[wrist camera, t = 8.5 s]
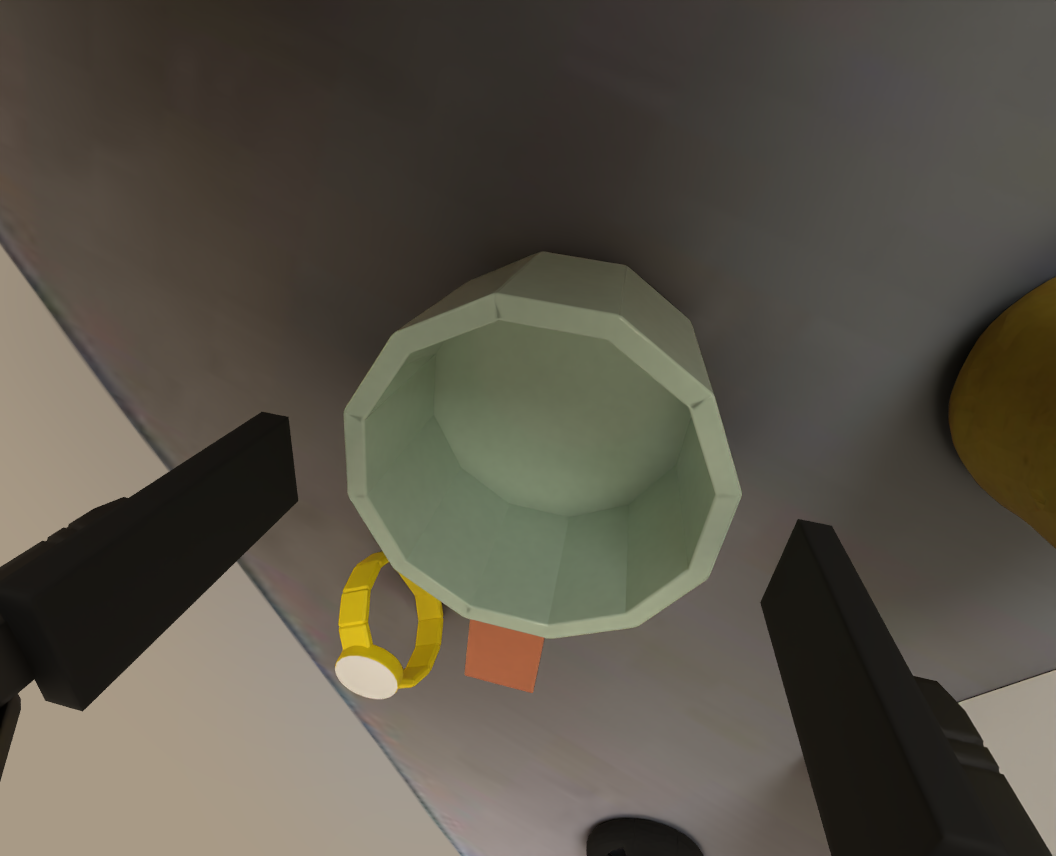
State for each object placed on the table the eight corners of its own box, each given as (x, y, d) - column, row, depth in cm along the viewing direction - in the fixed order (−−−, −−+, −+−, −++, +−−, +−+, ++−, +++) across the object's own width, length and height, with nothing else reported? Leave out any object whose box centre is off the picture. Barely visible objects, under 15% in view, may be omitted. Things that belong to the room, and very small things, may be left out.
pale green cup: (429, 232, 17) (334, 264, 12) (749, 285, 16) (802, 347, 10) (420, 537, 23) (354, 648, 18) (647, 591, 22) (650, 726, 17)
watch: (367, 533, 26) (298, 628, 20) (413, 522, 25) (353, 618, 19) (421, 620, 28) (371, 726, 23) (466, 613, 27) (424, 721, 22)
